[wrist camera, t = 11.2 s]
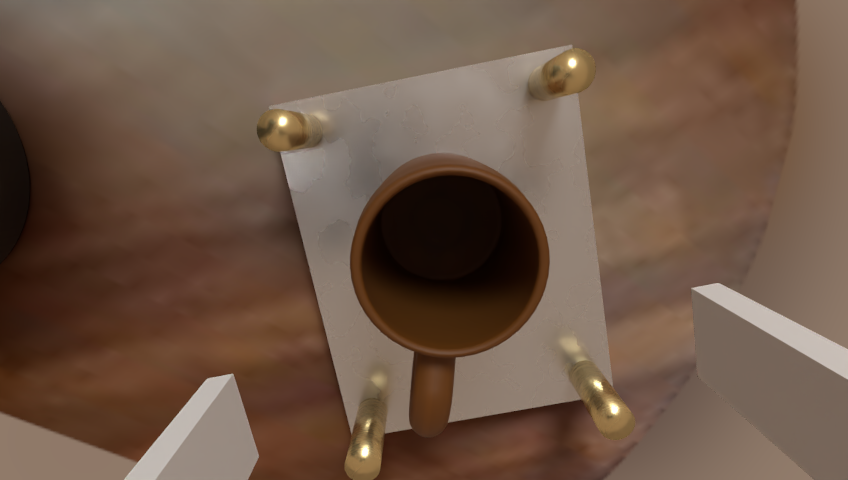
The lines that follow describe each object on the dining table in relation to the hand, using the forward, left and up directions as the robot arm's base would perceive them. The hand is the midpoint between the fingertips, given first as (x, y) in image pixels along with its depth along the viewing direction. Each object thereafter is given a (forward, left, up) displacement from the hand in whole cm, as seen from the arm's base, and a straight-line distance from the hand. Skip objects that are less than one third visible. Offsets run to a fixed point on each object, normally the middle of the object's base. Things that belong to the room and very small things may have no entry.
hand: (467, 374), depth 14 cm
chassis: (0, 0, -15) cm, 15 cm away
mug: (-1, 0, -14) cm, 14 cm away
